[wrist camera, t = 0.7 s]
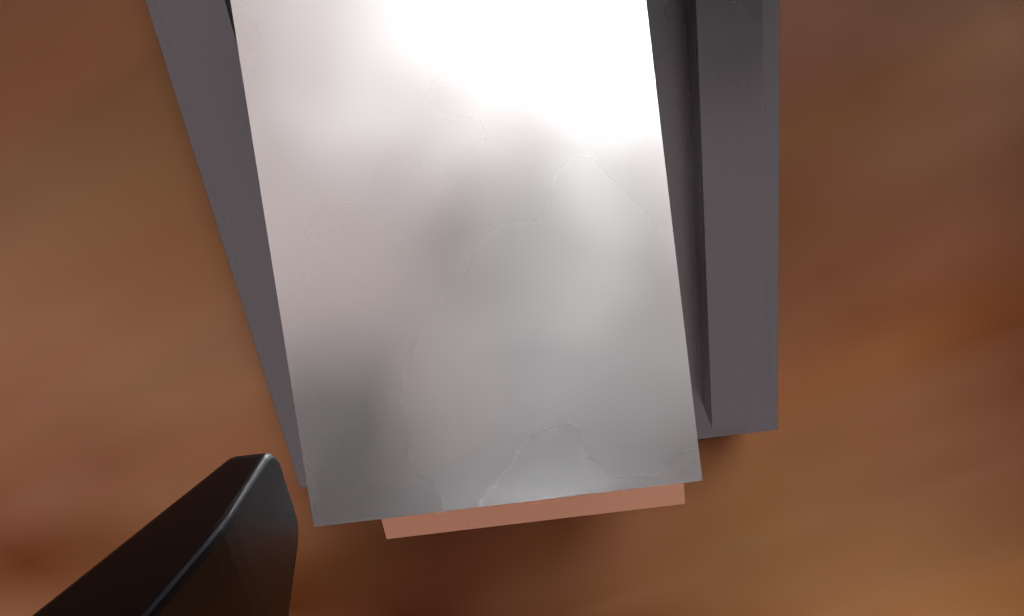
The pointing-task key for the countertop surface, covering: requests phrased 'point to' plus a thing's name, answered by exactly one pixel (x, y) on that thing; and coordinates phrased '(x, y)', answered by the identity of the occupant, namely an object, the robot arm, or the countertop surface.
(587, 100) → the bar
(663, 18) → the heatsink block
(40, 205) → the countertop surface
